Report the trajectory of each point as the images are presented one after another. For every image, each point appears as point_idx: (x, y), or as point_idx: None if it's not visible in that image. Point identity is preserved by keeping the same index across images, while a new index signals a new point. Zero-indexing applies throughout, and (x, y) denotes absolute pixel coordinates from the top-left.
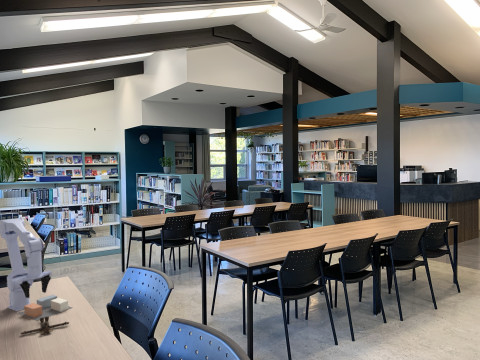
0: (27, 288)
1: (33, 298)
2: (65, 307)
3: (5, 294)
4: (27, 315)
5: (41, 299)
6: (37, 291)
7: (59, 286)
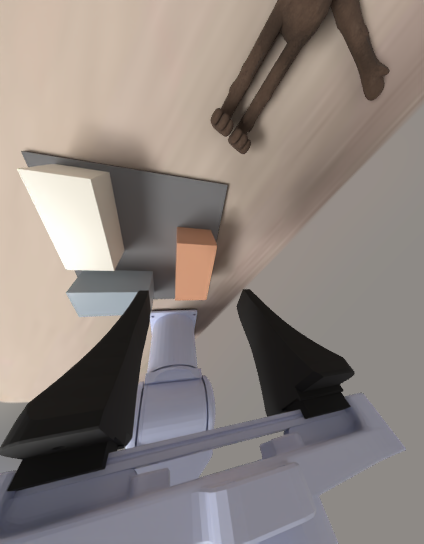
0: (295, 336)
1: None
2: (68, 168)
3: None
4: None
5: None
6: None
7: (28, 371)
